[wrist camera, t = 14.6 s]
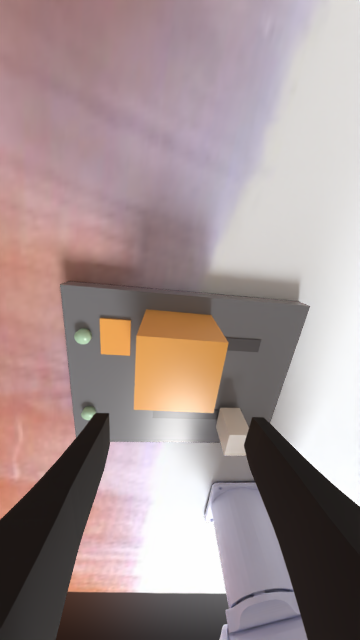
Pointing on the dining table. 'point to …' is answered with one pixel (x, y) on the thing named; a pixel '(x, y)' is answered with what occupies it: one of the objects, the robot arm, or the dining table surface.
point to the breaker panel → (120, 354)
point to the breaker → (232, 431)
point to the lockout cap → (178, 362)
